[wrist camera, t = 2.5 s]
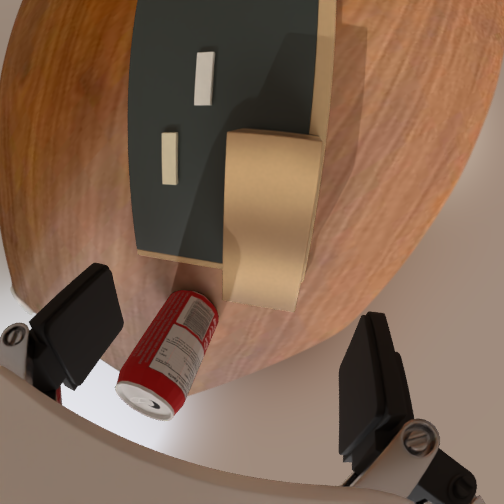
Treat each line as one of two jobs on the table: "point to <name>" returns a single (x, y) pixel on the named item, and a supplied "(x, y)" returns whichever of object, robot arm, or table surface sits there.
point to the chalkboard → (217, 106)
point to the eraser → (267, 214)
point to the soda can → (168, 356)
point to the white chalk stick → (204, 78)
